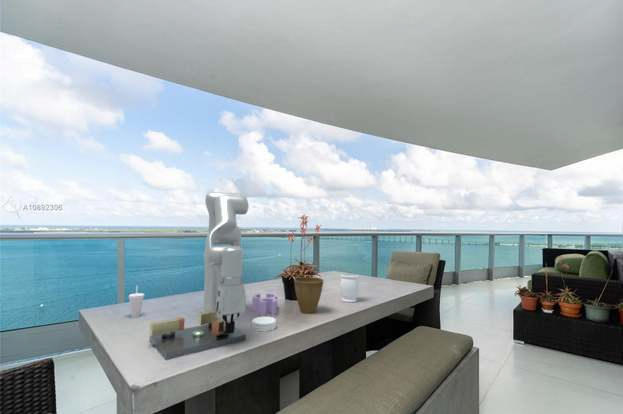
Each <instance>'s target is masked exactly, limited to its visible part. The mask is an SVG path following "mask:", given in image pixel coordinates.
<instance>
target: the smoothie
mask: <svg viewBox="0 0 623 414" xmlns="http://www.w3.org/2000/svg"><path fill="white" fill-rule="evenodd" d="M138 288H139V285H136V287H135V290H136V291H135V293H130V294H129V295H128V299H129V313H130V317H131V318H138V317H140V316H141V312H142V307H143V301H144V297H145V293H142V292H140V293H139V292H138Z"/></svg>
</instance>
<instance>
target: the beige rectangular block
mask: <svg viewBox="0 0 623 414" xmlns="http://www.w3.org/2000/svg"><path fill="white" fill-rule="evenodd" d="M216 314H217V312H216V310H213V311H207V312H198V316H197V319H198V320H197V324H199V326H201V325H206V324H208V326H210V327H212V323H213V322H215V321H216V320H218V319H220V318H216Z"/></svg>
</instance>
